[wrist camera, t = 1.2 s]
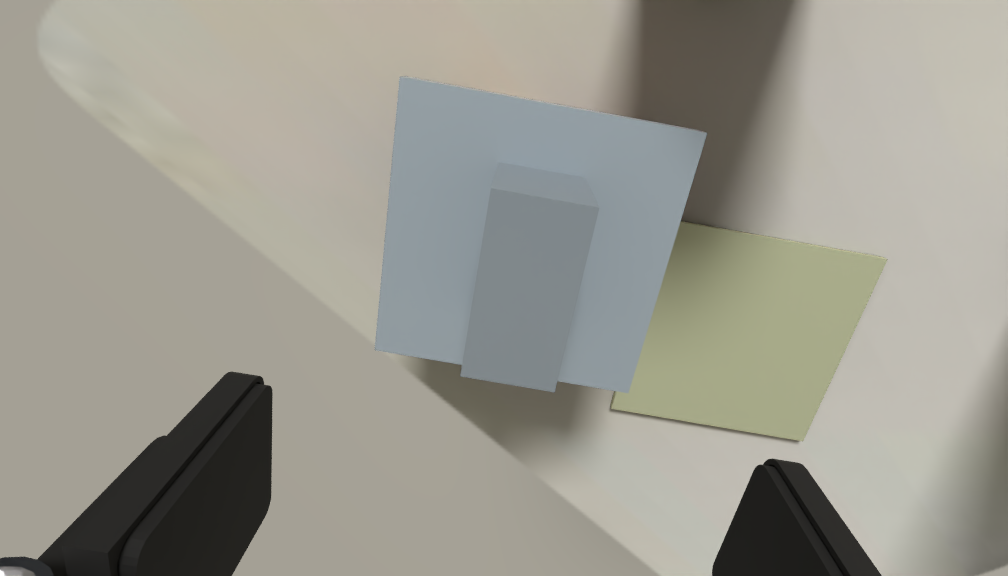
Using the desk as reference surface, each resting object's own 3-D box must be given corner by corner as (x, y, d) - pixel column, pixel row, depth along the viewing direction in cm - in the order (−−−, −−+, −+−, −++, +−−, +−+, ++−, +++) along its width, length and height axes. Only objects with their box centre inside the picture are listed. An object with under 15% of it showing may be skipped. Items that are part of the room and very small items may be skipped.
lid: (692, 127, 23) (756, 152, 17) (621, 371, 28) (650, 465, 21) (410, 75, 23) (363, 80, 16) (385, 330, 27) (340, 413, 21)
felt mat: (883, 257, 32) (887, 259, 32) (800, 437, 37) (802, 441, 37) (665, 218, 32) (666, 219, 31) (610, 405, 37) (611, 408, 36)
